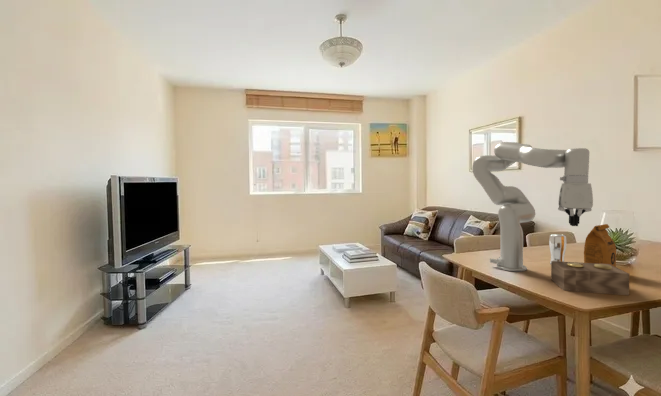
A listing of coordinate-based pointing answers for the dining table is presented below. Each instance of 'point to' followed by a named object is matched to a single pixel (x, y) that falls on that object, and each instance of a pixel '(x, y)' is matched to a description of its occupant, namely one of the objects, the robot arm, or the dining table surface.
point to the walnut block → (590, 278)
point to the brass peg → (575, 265)
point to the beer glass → (557, 247)
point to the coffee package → (600, 247)
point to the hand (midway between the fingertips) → (573, 225)
